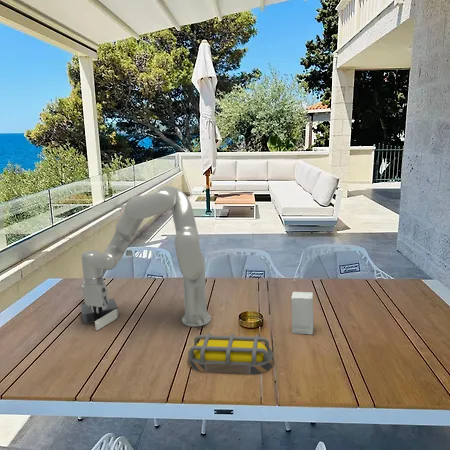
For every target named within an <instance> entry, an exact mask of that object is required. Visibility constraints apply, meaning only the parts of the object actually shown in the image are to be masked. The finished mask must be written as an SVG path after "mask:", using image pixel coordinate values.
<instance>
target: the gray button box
mask: <svg viewBox="0 0 450 450" xmlns="http://www.w3.org/2000/svg"><path fill="white" fill-rule="evenodd" d="M107 307H108V308H107V309H105V310H103V311H102V317H103V316H105V315H107V314H108V313H110V312H112V311H113V310H115V309H118V310H119V308H118V305H117V302H116V300H115V298H109V303H108V304H107ZM99 308H100V307H99ZM80 311H81V317H82V321H83V325H86V324H91V323H95V321H94V314H93V312H92V310H91V308H90V307H88V306H86V304H85V303H82V304H80ZM119 313H120V312H118V317H120V315H119Z"/></svg>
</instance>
